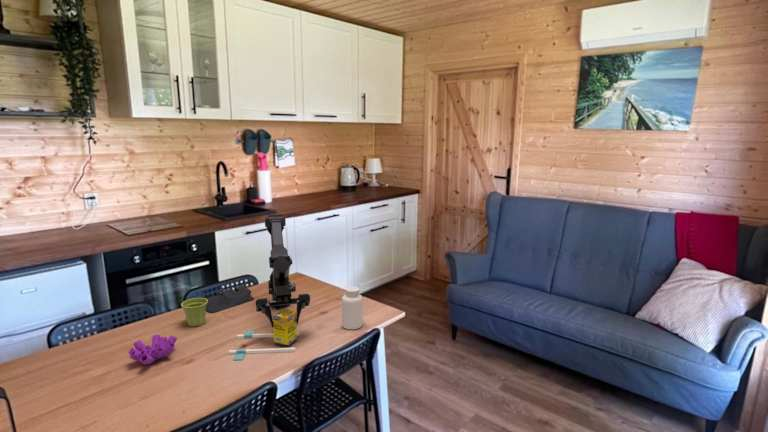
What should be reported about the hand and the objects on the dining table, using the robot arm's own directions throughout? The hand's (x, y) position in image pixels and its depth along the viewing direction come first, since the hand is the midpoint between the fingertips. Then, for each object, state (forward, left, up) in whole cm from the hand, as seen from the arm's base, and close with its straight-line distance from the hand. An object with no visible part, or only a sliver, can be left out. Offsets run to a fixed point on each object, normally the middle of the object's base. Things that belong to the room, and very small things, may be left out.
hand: (285, 325), depth 147 cm
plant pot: (-39, -15, -8) cm, 43 cm away
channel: (-6, -5, -7) cm, 10 cm away
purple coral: (-23, -35, -8) cm, 43 cm away
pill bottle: (+5, +27, -8) cm, 28 cm away
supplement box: (-1, +1, -7) cm, 7 cm away
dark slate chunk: (-51, +2, -8) cm, 52 cm away
